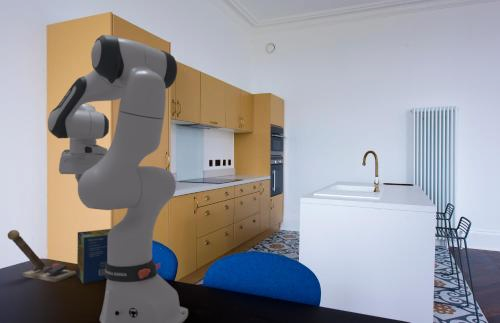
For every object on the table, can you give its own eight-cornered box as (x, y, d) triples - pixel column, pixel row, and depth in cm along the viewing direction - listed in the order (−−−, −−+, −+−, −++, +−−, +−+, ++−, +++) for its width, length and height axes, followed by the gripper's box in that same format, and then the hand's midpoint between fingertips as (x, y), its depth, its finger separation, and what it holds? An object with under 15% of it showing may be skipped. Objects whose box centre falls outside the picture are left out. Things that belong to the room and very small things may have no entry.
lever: (49, 266, 121) (18, 228, 110) (43, 273, 118) (10, 235, 108) (43, 265, 122) (11, 227, 111) (36, 272, 120) (3, 234, 109)
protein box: (76, 275, 119) (76, 231, 119) (121, 268, 128) (121, 227, 128) (82, 284, 110) (82, 237, 110) (129, 275, 119) (130, 231, 120)
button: (62, 268, 121) (62, 263, 121) (55, 270, 118) (55, 265, 119) (56, 267, 122) (56, 262, 122) (50, 270, 119) (50, 264, 119)
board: (75, 274, 120) (76, 267, 120) (55, 282, 112) (56, 274, 112) (43, 269, 125) (43, 262, 125) (22, 276, 118) (22, 268, 118)
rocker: (66, 268, 118) (66, 265, 118) (54, 274, 114) (54, 271, 114) (60, 267, 119) (60, 264, 119) (48, 273, 115) (48, 270, 115)
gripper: (54, 149, 124) (54, 186, 123) (97, 148, 117) (97, 188, 116) (69, 149, 130) (68, 185, 129) (111, 149, 122) (110, 187, 122)
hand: (82, 187), depth 123 cm, fingers closed
